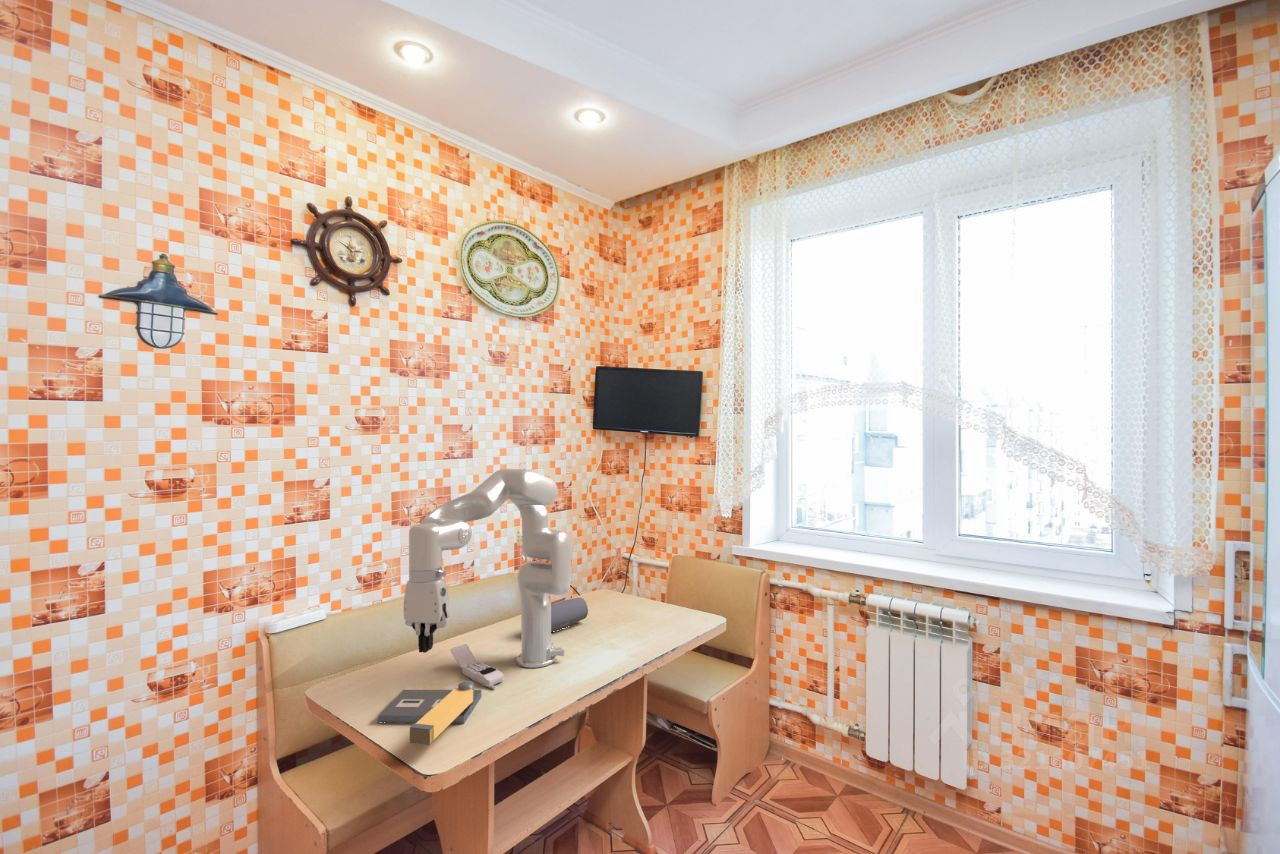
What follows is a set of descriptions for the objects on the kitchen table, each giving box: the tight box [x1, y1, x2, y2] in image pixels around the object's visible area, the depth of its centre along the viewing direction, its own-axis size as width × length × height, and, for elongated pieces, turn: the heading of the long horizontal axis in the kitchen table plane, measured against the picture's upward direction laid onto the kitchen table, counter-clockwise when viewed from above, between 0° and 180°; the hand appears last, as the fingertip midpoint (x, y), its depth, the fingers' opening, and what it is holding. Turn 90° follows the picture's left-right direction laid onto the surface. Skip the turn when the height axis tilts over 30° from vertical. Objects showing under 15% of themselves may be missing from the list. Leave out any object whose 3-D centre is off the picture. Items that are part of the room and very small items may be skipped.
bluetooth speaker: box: [551, 597, 589, 632], centre depth 205 cm, size 23×9×10 cm, turn 136°
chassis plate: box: [377, 689, 482, 725], centre depth 145 cm, size 22×14×2 cm, turn 88°
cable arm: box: [409, 680, 475, 746], centre depth 135 cm, size 23×5×5 cm, turn 169°
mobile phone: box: [449, 643, 505, 690], centre depth 166 cm, size 6×6×25 cm
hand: (425, 650), depth 133 cm, fingers closed
